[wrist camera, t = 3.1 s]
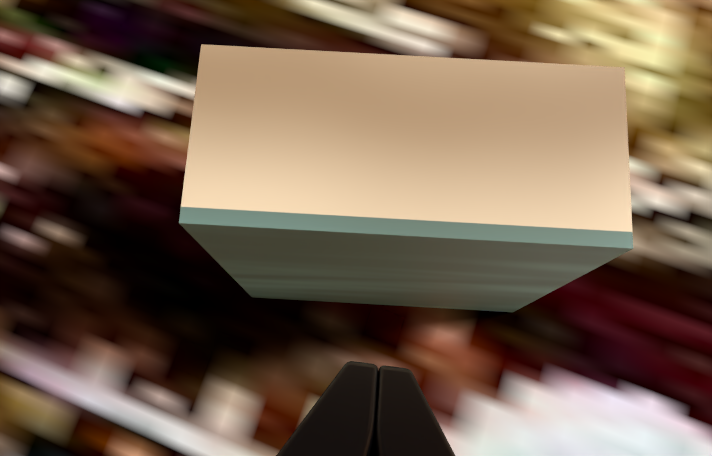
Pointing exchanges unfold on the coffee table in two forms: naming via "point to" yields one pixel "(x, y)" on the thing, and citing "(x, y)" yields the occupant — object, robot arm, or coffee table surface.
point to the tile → (406, 175)
